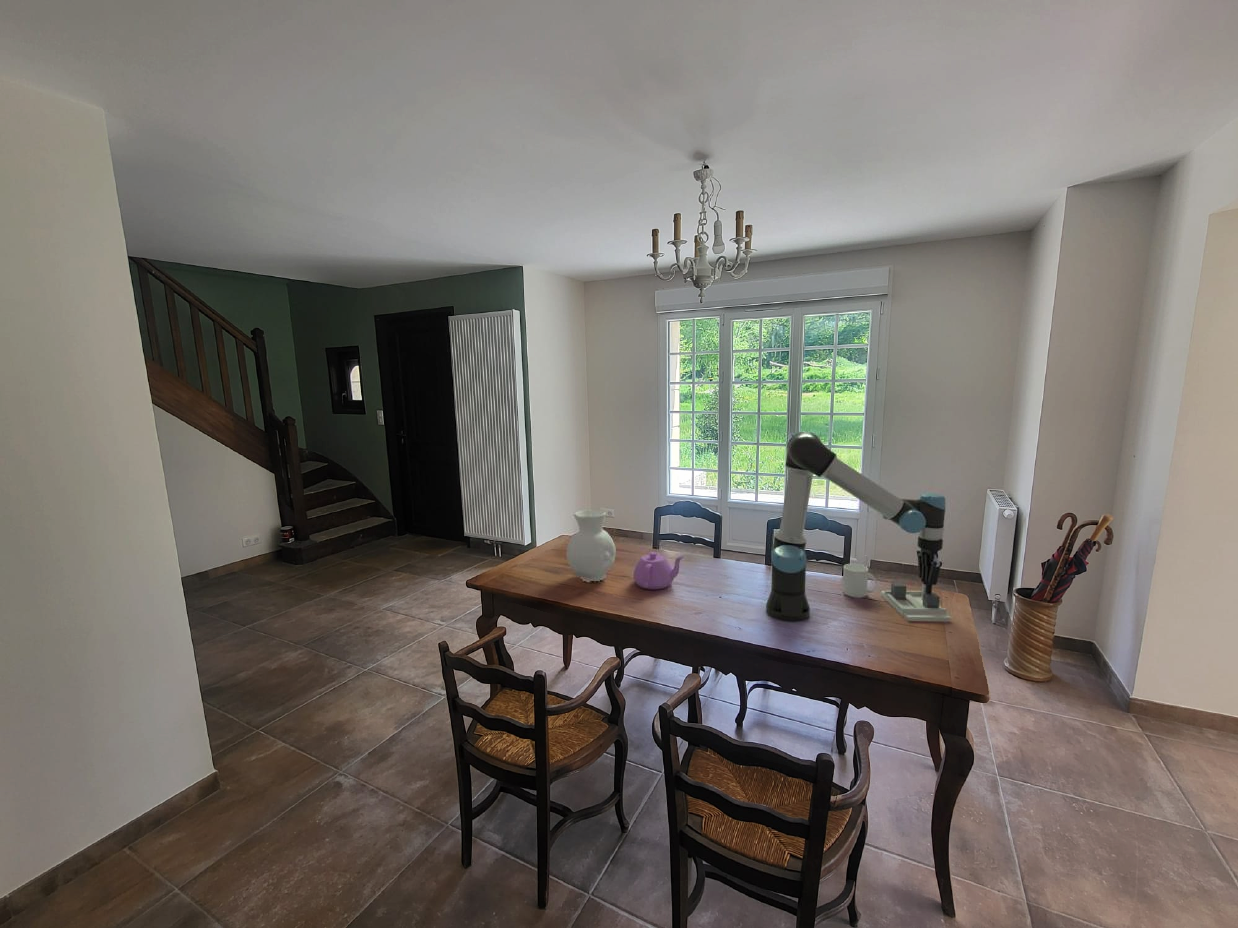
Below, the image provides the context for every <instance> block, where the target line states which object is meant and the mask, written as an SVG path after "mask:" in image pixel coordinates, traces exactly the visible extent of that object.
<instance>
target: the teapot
mask: <svg viewBox="0 0 1238 928" xmlns="http://www.w3.org/2000/svg"><path fill="white" fill-rule="evenodd" d="M648 553H649V554H644V555H642V556H641V557H640V558H639V559H638V562H637V563H636V565H635V568H634V571H633V581H634V582H635V584H637V586H639V587H640V588H642V587H643V588H642V589H645V588H646V589H645V590H661V589H665V588H668V587H669V586H670V585H671V584H672V583H673V581H674V580H675V578H676V577H677V576H678V575H679V572H680V562H681V560H682V559H683V558H684V557H685V556H684V555H681V556H679V557H676V558H675V559H674V566H673V567H672V565H671V564H670V562H669V561H668V559H667V558H666V556H665V555H662V553H661V552H656V551H651V552H650V551H649V552H648Z"/></svg>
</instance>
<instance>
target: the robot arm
mask: <svg viewBox="0 0 1238 928" xmlns="http://www.w3.org/2000/svg"><path fill="white" fill-rule="evenodd" d="M785 468H786V469H787V470H788V475H787V482H786V487H785V488H786V489H785V493H784V494H785V495H784V498H783V499H784V501H783V506H782V512H781V520H780V524H779V525H780V526H779V531H777V532H776V533H775V534H774V536H773V544H772V546H771V551H770V555H771V556H770V557H771V558H770V559H771V588H770V592H769V596H768V598H767V601H766V604H765V605H766V606H765V610H766V614H767V615H769V616H771V617H772V618H775V619H777V620H781V621H785V622H802V621H804V620H806V619H809V618H810V615H811V608H810V605H809V600H808V599H807V598H808V597H807V594H806V578H807V577H806V574H807V573H806V572H807V563H808V561H807V554H806V544H807V539H806V538H805V536H804V530H805V524H806V520H807V519H806V518H807V513H808V508H809V507H808V506H809V500H810V494H811V488H812V482H813V477H814V475H815V476H816V477H818V478H822V477H824V478H825V479H826V480H828V481H830V482H831V483H833V484H835V485H836V486H837V487H839V488H840V489H842V490H844V491H845V492H847V493H848V494H850V495H851V496H853V497H854V498H856V499H857V500H859V501H860V502H862V503H864V504H865V505H867V506H868V507H870V508H871V509H873V510H874V511H876V512H878V513H879V514H881V516H882V519H884V520H889V521H891V522H893V523H894V524H896V525H898V526H899V527H900V529H901V530H903V531H905V532H906V533H908V534H917V535H918V537H917V547H918V548H919V549H920V550H916V555H917V567H918V570H917V571H918V578H919V579H920V580H921V582H922V583H921V591H922V593H921V600H922V601H923V593H933V591H932V590H933V586H936V585H937V584H938V579H939V575H940V571H941V567H942V566H943V562H942V561H939V551H941V550H942V549H943V545H944V540H943V538H944V531H945V516H946V509H947V508H946V498H945V496H943V495H942V494H939V493H929V492H928V493H926V492H925V493H921V495H920V497H919V499H907V498H899V497H898V496H896V495H894V494H893V493H892V492H890V491H889V490H887V489H885V488H884V487H882V486H881V485H879V484H877V483H876V482H874V481H873V480H871V479H870V478H868V477H866V476H865V475H863V474H862V473H861V472H859V471H857V470H856V469H854V468H853V467H851V466H850V465H848V464H847V463H845V462H844V461H842V460H841V459H839V458H838V455H837V453H835V452H834V451H832V450H830V449H829V448H828V447H827V446H826V445H825V444H824V443H823V442H822V441H821V439H820V437H819V436H818V435H817V434H815V433H813V432H810V431H798V432H797V433H795V434H793V435H792V436H791V437H790V438H789V440H788V442H787V453H786V460H785Z"/></svg>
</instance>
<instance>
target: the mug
mask: <svg viewBox="0 0 1238 928" xmlns="http://www.w3.org/2000/svg"><path fill="white" fill-rule="evenodd" d="M842 573H843V579H842V592H843V594H845V595H846V596H848V597H851V598H857V599H858V598H859V599H860V598H865V597H866V596H867V595H868V594H872V593H874V592H875V591H876V590H877V587H878V581H877V579H876V577H875V576H874V575H873V574H871V573H870V572H869V567H867V566H866V565H863V564H858V563H846V564H844V565H843V572H842ZM868 579H871V580H873V581H874V583H875V587H874V588H869V587H868V584H869V583H868V581H869V580H868Z"/></svg>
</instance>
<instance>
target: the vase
mask: <svg viewBox="0 0 1238 928" xmlns="http://www.w3.org/2000/svg"><path fill="white" fill-rule="evenodd" d="M606 515H607V512H606V511H605V510H602V509H601V510H600V509H584V510H583V509H582V510H579V511H575V512H574V513H573V516H574V518H575V520H576V522H577V525H578V529H579V531H577V532H575V533H574V534H573V535H572V537H570V540H569V541H568V544H567V547H566V548H567V549H566V560H567V563H568V565H569V567H570V569H571V570H572V572H573V573H574V574H576V575H578V576H579V578H580V577H581V578H583V579H585V580H589V581H594V582H596V581H598V580H601V579H604V578H605V579H606V577H607V576H606V574H607V572H608V571H610V570H611V569H612V567H613V565H614V563H615V560H616V554H617V552H616V551H617V549H616V544H615V543H614V540H613V538H612V537H611V535H610V534H609V533H608V532H607V531H606V530H604V528H603V527H604V522H605V517H606ZM605 579H604V580H605ZM598 582H599V581H598Z"/></svg>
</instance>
